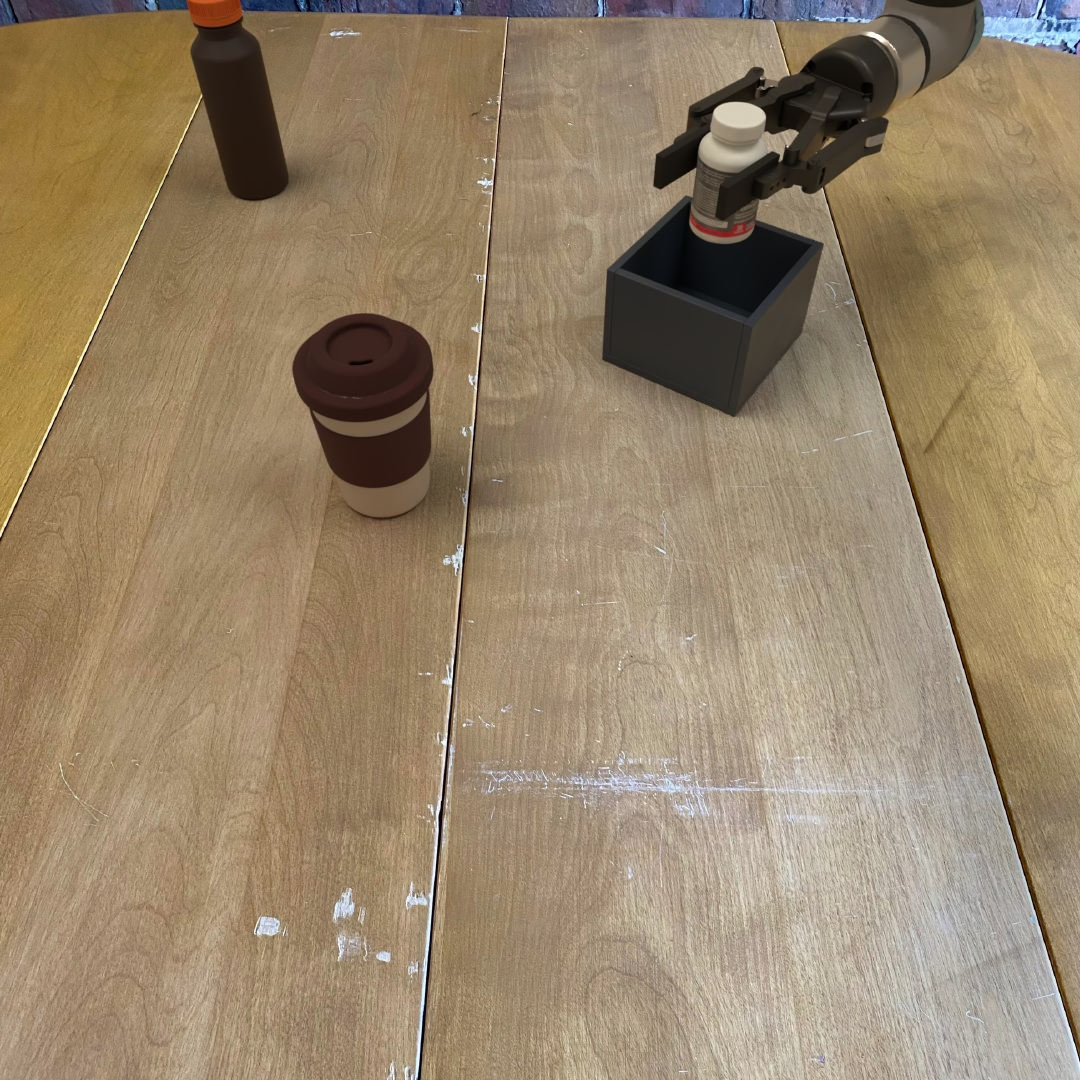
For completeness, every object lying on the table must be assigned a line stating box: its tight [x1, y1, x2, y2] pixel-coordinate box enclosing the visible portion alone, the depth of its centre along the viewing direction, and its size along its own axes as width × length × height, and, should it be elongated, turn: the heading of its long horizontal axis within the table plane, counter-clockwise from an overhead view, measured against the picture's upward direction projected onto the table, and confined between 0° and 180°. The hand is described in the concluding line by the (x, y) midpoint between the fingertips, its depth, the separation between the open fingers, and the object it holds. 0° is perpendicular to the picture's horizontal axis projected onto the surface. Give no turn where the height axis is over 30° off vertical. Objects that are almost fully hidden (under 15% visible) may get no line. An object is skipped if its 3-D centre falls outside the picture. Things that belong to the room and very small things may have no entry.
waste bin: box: [601, 195, 825, 417], centre depth 88 cm, size 14×14×10 cm
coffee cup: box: [291, 312, 434, 518], centre depth 75 cm, size 10×10×15 cm
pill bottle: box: [689, 102, 769, 244], centre depth 78 cm, size 5×5×10 cm
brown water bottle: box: [186, 0, 290, 200], centre depth 102 cm, size 7×7×20 cm
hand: (689, 187), depth 75 cm, fingers closed on pill bottle, 5 cm apart
